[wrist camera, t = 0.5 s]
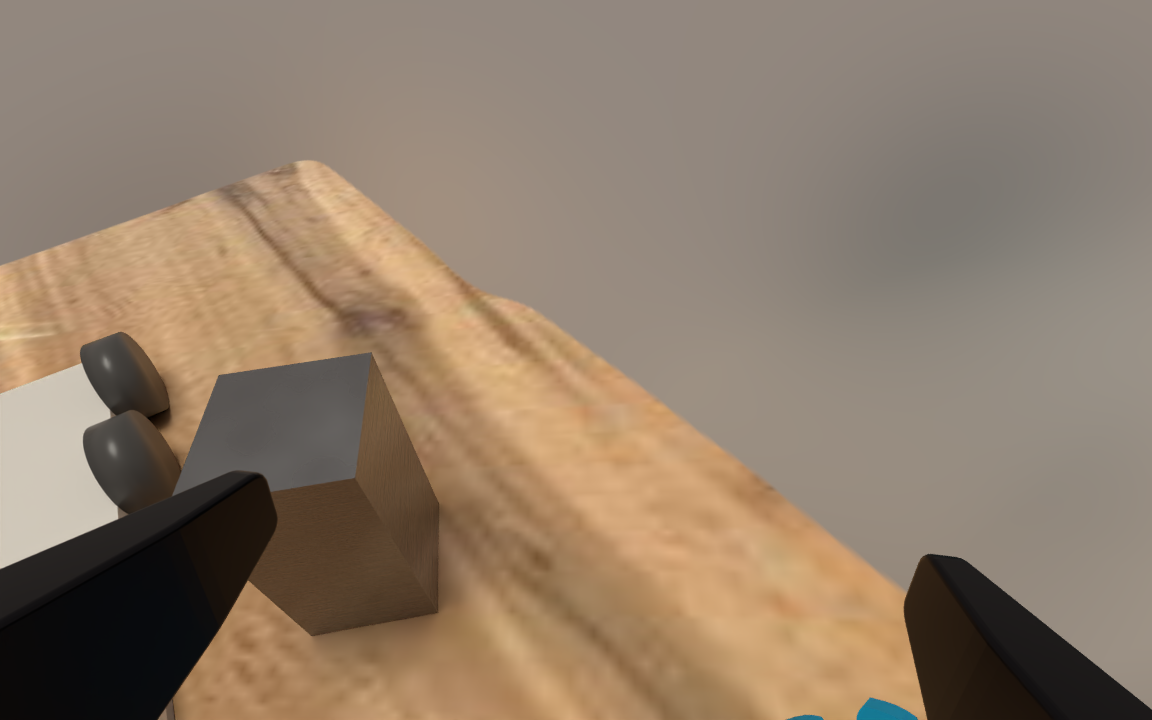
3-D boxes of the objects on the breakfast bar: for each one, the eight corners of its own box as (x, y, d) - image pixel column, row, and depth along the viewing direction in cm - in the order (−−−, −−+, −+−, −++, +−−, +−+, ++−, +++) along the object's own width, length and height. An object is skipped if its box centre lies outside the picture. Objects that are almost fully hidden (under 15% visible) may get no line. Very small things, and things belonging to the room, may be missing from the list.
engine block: (437, 612, 23) (355, 477, 16) (311, 635, 22) (167, 509, 15) (438, 503, 26) (371, 352, 19) (329, 522, 26) (218, 375, 19)
